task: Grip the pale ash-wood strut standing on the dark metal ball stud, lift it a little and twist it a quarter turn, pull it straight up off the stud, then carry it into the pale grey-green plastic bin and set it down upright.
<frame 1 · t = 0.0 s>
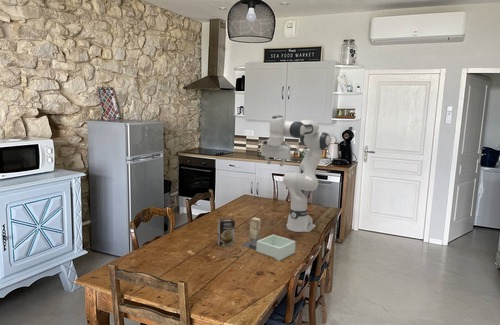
hand: (275, 165, 229), 48 cm above the table, tool pointing down, fingers open, 8 cm apart
stud plate: (254, 246, 224), on the table
strut: (254, 244, 224), point 1 cm above the table, touching stud plate
bin: (275, 252, 216), on the table
coffee box: (225, 246, 224), on the table
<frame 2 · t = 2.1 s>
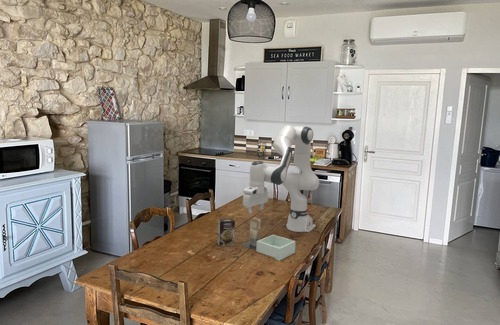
hand: (255, 211, 221), 21 cm above the table, tool pointing down, fingers open, 8 cm apart
nothing on the table moved.
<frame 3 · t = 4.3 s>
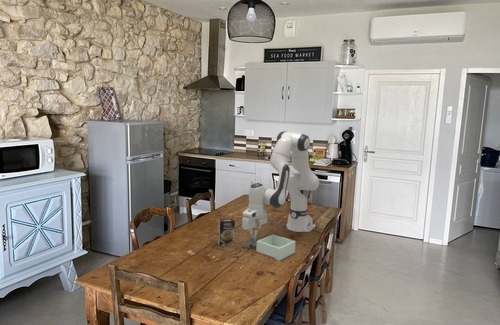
hand: (254, 233, 223), 8 cm above the table, tool pointing down, fingers closed on strut, 4 cm apart
strut: (254, 244, 224), point 1 cm above the table, touching gripper, stud plate
everything else where it was.
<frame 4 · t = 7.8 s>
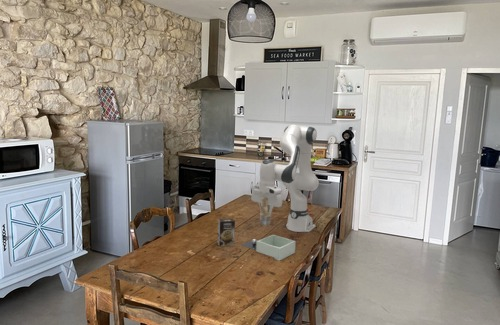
hand: (265, 211, 217), 23 cm above the table, tool pointing down, fingers closed on strut, 4 cm apart
strut: (264, 223, 218), point 16 cm above the table, touching gripper
everything else where it was.
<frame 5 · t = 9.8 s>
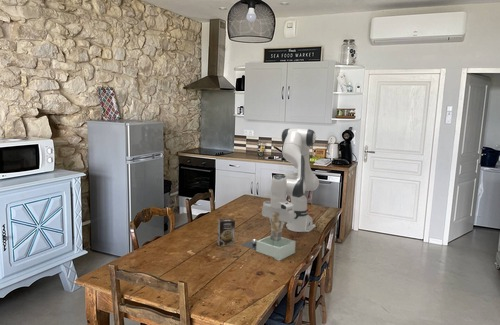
hand: (276, 226, 213), 16 cm above the table, tool pointing down, fingers closed on strut, 4 cm apart
strut: (275, 239, 215), point 8 cm above the table, touching gripper
everything else where it was.
when the fingers open (10 cm above the table, at t = 11.7 s): strut drops 1 cm, resting on bin.
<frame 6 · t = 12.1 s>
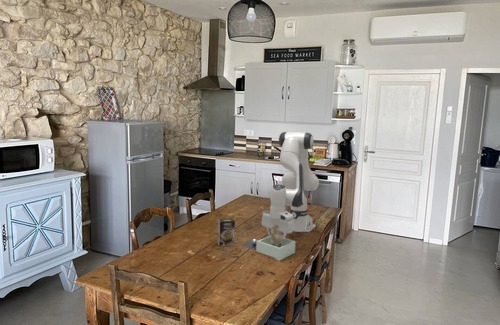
hand: (276, 236, 214), 10 cm above the table, tool pointing down, fingers open, 8 cm apart
strut: (275, 251, 216), point 1 cm above the table, touching bin
everything else where it was.
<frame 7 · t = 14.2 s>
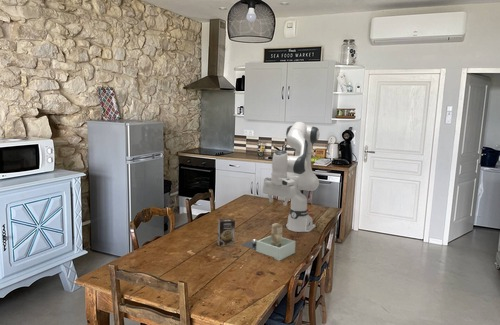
hand: (277, 203, 212), 29 cm above the table, tool pointing down, fingers open, 8 cm apart
nothing on the table moved.
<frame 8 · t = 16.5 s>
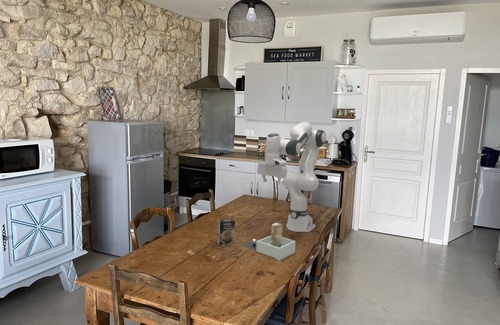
hand: (271, 183, 228), 37 cm above the table, tool pointing down, fingers open, 8 cm apart
nothing on the table moved.
at the end: strut inside the target area on the bin (0.2 cm from its centre), point 1.0 cm above the bin's base; strut tilted 0°; the gripper is holding nothing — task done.
